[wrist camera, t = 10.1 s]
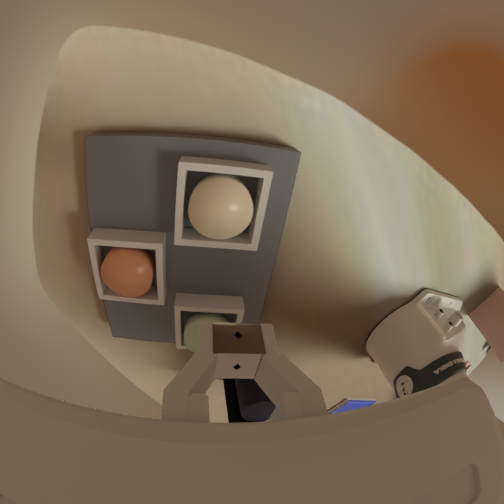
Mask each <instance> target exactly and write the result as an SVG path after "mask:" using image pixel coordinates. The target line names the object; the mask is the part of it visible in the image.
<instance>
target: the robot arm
mask: <svg viewBox="0 0 504 504" xmlns="http://www.w3.org/2000/svg"><path fill="white" fill-rule="evenodd" d="M462 304H463V301H462V300H461V299H460V298H458V297H454V296H451V295H447V294H444V293H440V292H437V291H433V290H430V289H425V290H424V291H422V292H421V293H420V294H419V295H417V296H416V297H415V298H414V299H413V300H412V301H411V302H409V303H407V304H406V305H404V306H402V307H400V308H399V309H397V310H396V311H394V312H393V313H391V314H390V315H389V316H388V317H386V318H385V319H384V320H383V321H382V322H381V323H380V324H379V325H378V326H377V327H376V328H375V330H374V331H373V332H372V334H371V335H370V337H369V338H368V341H367V343H366V351H367V353H368V354H369V355H370V356H371V357H372V358H373V360H374V363H375V364H376V366H379V367H380V369H381V370H382V372H383V373H384V375H385V377H386V378H387V380H388V381H389V383H390V384H391V386H392V387H393V389H394V390H395V393H396V398H397V399H393V400H390V401H386V402H382V403H379V404H375V405H371V406H366V407H362V408H358V409H353V410H348V411H343V412H338V413H332V414H328V411H327V408H326V404H325V401H324V398H323V395H322V391H321V388H319V387H318V386H317V385H316V384H315V383H314V382H313V381H312V380H311V379H309V378H308V377H307V376H306V375H305V374H304V373H303V372H302V371H301V370H300V369H299V368H297V367H296V366H295V365H294V364H293V363H292V362H291V361H290V360H289V359H288V358H287V357H286V356H285V355H284V354H280V353H279V349H278V345H277V340H276V336H275V332H274V328H273V325H272V324H263V323H260V324H259V323H224V322H208V321H200V324H199V346H198V353H195V354H194V355H193V356H192V357H191V358H190V360H189V361H188V362H187V363H186V364H185V366H184V367H183V368H182V369H181V370H180V371H179V373H178V374H177V375H176V376H175V377H174V378H173V380H172V381H171V382H170V383H169V384H168V385H167V387H166V388H165V389H164V391H163V403H162V418H161V419H152V418H144V417H136V416H130V415H123V414H118V413H112V412H107V411H102V410H98V409H93V408H89V407H84V406H80V405H76V404H72V403H69V402H65V401H62V400H58V399H55V398H52V397H48V396H46V395H43V394H39V393H37V392H34V391H31V390H28V389H26V388H23V387H20V386H18V385H15V384H13V383H10V382H8V381H6V380H3V379H1V378H0V504H504V422H502V421H501V420H500V419H498V418H497V417H496V416H495V414H494V412H493V409H492V407H491V405H490V403H489V400H488V398H487V396H486V394H485V393H484V391H483V390H482V388H481V387H480V386H478V385H477V384H476V383H474V382H473V381H471V380H470V379H469V377H468V376H467V374H466V370H467V369H468V368H469V367H470V365H469V366H468V367H466V365H467V363H468V361H467V362H466V363H465V361H464V359H463V356H462V353H461V352H460V351H461V347H462V343H463V339H464V335H465V331H466V327H465V324H464V322H463V321H462V320H463V317H462V316H461V314H460V313H459V312H460V310H461V307H462ZM214 378H215V379H224V378H238V379H254V380H255V381H256V382H257V384H258V385H259V386H260V387H261V389H262V390H263V391H264V392H265V394H266V395H267V396H268V397H269V399H270V400H271V401H272V402H273V403H274V405H275V406H276V408H275V409H274V411H273V413H272V414H271V416H270V418H269V421H263V422H241V423H210V421H209V402H208V396H206V395H205V393H206V392H207V390H208V389H209V387H210V386H211V384H212V382H213V381H214Z"/></svg>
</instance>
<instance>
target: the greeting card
mask: <svg viewBox="0 0 504 504" xmlns="http://www.w3.org/2000/svg"><path fill="white" fill-rule="evenodd" d="M468 316H469V317H470V319H471V320H472V321H473V322H474V324H475V325H476V326H477V328H478V329H479V331H480V332H481V333H482V335H483V336H484V337H485V339H486V340H487V342H488V343H489V345H490V346H491V348H492V349H493V350H494V352H495V353H496V355H497V357H498V358H499V359H500V361H501V362H503V361H504V291H503V290H502V289H501V288H500V287H498V288H497V289H496V290H495V291H494V292H493V293H492V294H491V295H490V296H489V297H488V298H487V299H486V300H484V301H483V302H482V303H481V304H480V305H479V306H478V307H477V308H476V309H475V310H473V311H472V312H471V313H470V314H469V315H468Z"/></svg>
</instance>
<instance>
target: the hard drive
mask: <svg viewBox="0 0 504 504" xmlns="http://www.w3.org/2000/svg"><path fill="white" fill-rule="evenodd" d="M375 402H376V400H375V399H356V398H347V399H345V400H344V401H343V402H341V403H340V404H338V405H337V406H335V407H333V408H332V409H330V410H329V411H328V414H332V413H338V412H343V411H348V410H353V409H358V408H362V407H366V406H371V405H373V404H374V403H375Z"/></svg>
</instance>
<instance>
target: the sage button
mask: <svg viewBox="0 0 504 504" xmlns="http://www.w3.org/2000/svg"><path fill="white" fill-rule="evenodd" d="M200 321H208V322H224V323H229V321H228V320H227V318H225V317H224V316H222V315H221V314H218V313H209V312H200V313H196V314H194V315H192V316H190V317H189V318H188V319H187V320H186V322H185V328H184V344H185V346H186V347H187V348H188V349H189V350H190V351H192V352H193V353H198V346H199V324H200Z"/></svg>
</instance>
